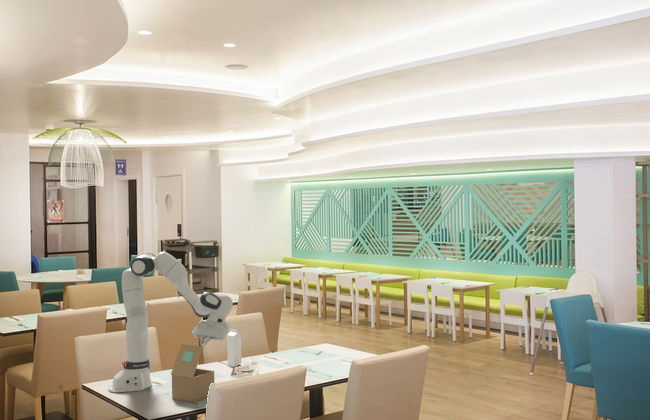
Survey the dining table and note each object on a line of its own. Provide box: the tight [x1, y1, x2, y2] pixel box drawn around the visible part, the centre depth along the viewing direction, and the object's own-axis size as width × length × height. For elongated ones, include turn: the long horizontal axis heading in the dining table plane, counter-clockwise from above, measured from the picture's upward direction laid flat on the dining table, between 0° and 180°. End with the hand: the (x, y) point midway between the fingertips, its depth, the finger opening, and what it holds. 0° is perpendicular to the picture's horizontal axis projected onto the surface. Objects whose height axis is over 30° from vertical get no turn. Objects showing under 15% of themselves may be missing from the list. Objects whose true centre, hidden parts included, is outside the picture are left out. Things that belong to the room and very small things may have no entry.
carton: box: [171, 368, 215, 403], centre depth 330 cm, size 16×14×12 cm
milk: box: [226, 328, 242, 368], centre depth 394 cm, size 6×6×22 cm
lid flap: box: [170, 343, 204, 378], centre depth 326 cm, size 16×14×1 cm
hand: (202, 344), depth 336 cm, fingers closed
